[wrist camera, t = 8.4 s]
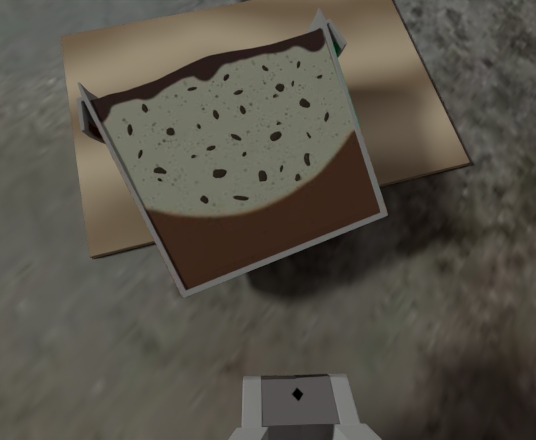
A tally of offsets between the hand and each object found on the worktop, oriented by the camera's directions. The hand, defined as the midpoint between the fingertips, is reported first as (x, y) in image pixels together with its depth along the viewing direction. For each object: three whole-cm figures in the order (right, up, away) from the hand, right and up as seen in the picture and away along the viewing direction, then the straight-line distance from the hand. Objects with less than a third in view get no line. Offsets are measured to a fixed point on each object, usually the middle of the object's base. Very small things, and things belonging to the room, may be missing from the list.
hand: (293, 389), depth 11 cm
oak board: (-1, +12, +13) cm, 18 cm away
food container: (0, +3, +8) cm, 8 cm away
